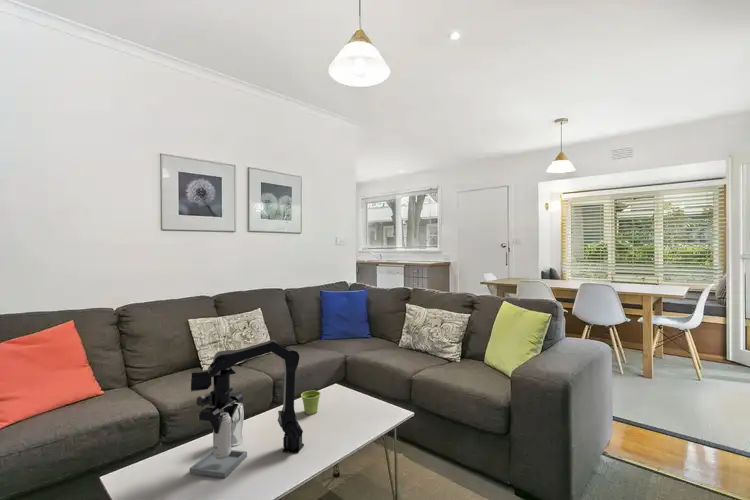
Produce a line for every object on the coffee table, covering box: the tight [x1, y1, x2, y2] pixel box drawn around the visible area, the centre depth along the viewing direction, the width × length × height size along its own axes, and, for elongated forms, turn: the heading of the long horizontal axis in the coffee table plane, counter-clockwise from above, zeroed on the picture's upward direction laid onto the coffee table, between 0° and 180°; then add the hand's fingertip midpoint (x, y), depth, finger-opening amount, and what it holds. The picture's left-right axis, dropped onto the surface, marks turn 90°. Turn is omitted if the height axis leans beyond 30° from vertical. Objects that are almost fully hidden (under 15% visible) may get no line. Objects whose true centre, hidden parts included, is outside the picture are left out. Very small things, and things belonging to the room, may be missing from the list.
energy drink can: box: [212, 411, 232, 459], centre depth 138 cm, size 6×6×15 cm
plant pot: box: [300, 390, 321, 415], centre depth 183 cm, size 9×9×9 cm
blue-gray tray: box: [188, 449, 248, 480], centre depth 138 cm, size 14×14×2 cm
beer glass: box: [231, 402, 245, 447], centre depth 155 cm, size 7×7×15 cm
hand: (222, 429), depth 138 cm, fingers closed on energy drink can, 6 cm apart
